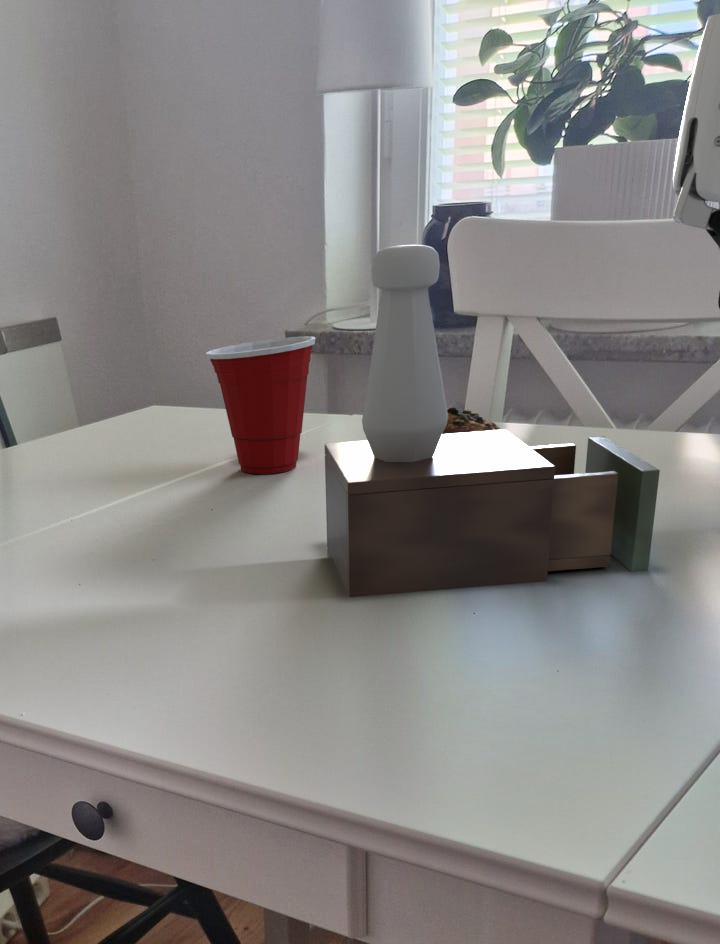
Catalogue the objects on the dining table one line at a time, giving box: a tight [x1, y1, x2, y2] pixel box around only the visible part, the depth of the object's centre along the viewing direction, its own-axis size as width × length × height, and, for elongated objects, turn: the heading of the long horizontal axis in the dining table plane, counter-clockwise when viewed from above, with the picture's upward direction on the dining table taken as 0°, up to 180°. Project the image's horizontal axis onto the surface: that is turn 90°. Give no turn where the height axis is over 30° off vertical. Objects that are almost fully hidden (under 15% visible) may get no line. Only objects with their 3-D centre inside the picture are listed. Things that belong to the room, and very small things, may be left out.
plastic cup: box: [205, 335, 316, 475], centre depth 115 cm, size 11×11×12 cm
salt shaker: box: [361, 244, 448, 462], centre depth 77 cm, size 6×6×13 cm
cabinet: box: [324, 429, 555, 598], centre depth 83 cm, size 14×13×9 cm
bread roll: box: [442, 406, 501, 434], centre depth 119 cm, size 11×11×5 cm
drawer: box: [529, 435, 661, 573], centre depth 83 cm, size 14×11×7 cm
